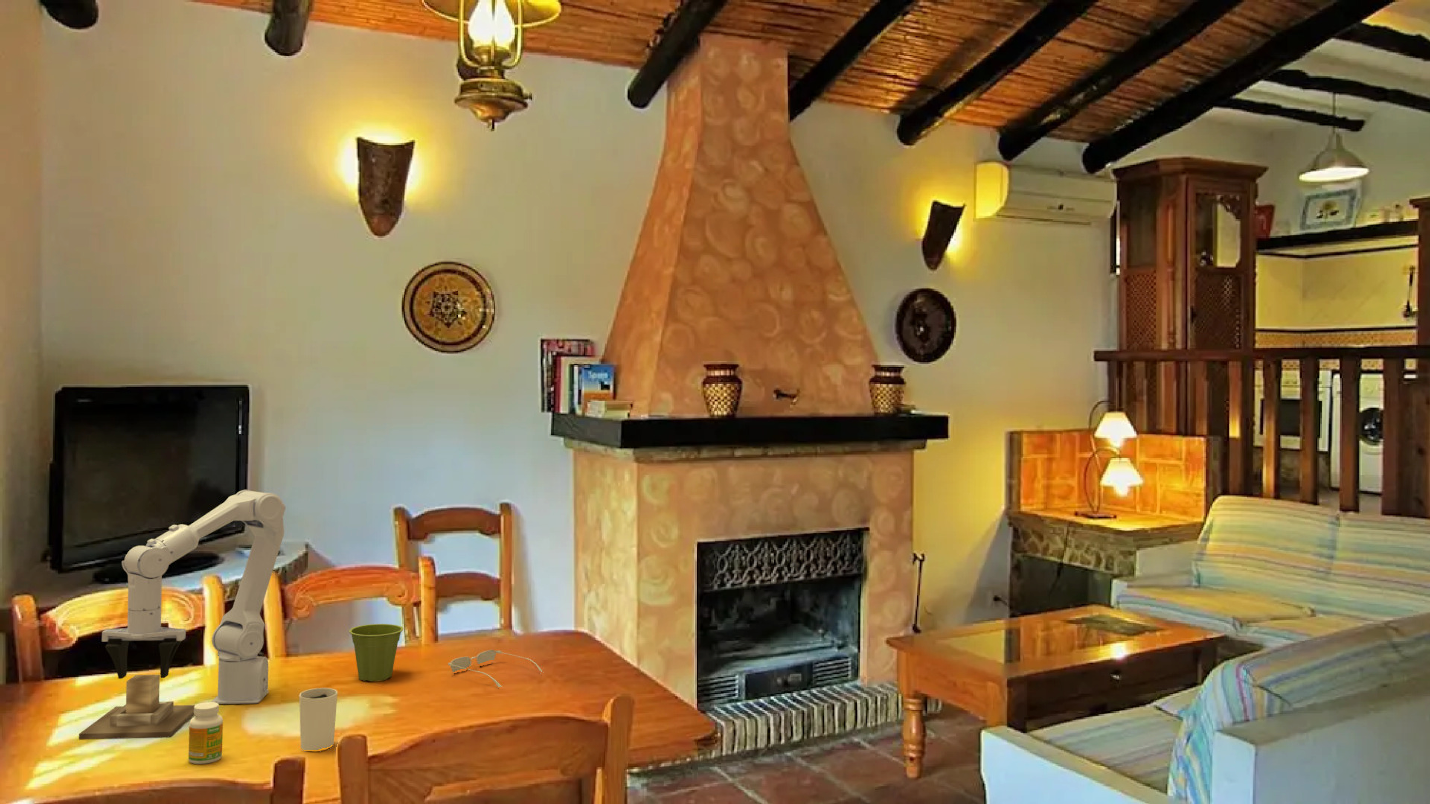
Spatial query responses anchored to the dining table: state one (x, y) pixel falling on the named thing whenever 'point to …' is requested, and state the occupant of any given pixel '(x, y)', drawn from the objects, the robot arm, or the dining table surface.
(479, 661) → the eyeglasses
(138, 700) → the birch peg
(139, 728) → the square peg socket base
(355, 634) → the plant pot
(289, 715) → the dining table surface
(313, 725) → the beige cup
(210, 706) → the supplement bottle
